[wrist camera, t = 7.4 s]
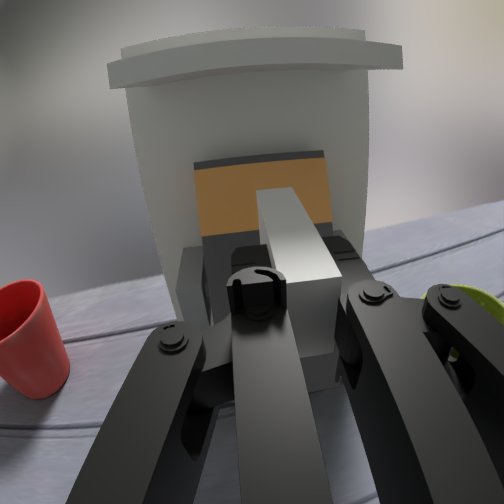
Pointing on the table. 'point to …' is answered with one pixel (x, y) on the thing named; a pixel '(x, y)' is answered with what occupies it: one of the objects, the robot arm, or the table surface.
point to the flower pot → (30, 341)
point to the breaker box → (245, 125)
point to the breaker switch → (247, 225)
